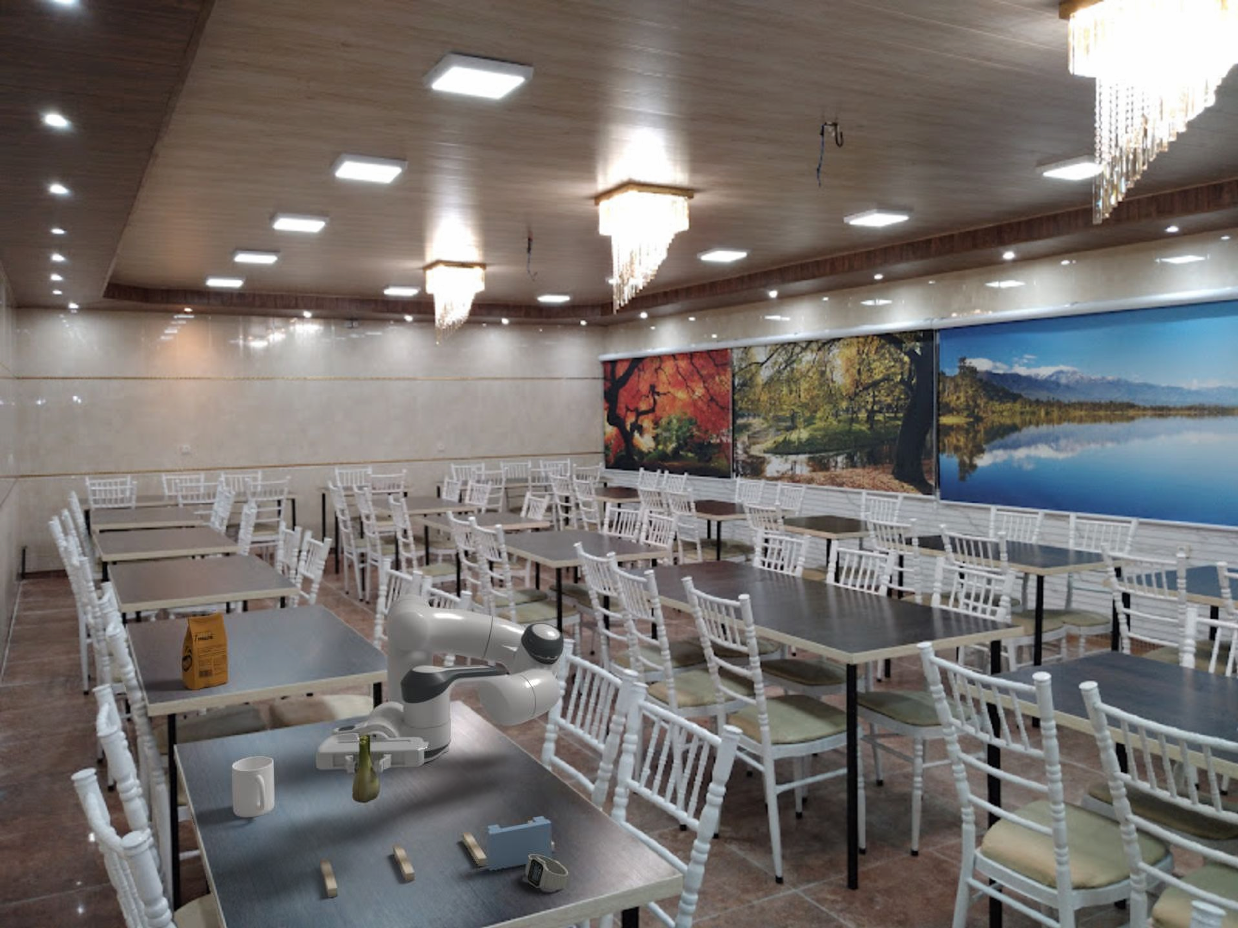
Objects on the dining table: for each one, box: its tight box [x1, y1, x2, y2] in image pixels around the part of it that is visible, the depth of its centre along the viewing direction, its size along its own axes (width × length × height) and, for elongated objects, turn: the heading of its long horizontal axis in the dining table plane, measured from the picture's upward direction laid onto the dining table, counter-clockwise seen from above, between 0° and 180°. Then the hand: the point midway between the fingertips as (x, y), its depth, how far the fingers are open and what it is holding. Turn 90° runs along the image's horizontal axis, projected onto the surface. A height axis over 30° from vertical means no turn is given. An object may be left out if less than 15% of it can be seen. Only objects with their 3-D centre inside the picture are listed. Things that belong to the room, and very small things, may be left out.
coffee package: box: [181, 611, 229, 691], centre depth 296 cm, size 10×12×22 cm
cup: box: [231, 755, 275, 818], centre depth 202 cm, size 8×12×10 cm
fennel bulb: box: [351, 733, 381, 804], centre depth 177 cm, size 6×5×12 cm
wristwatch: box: [524, 854, 569, 891], centre depth 172 cm, size 9×6×5 cm
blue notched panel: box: [486, 815, 553, 872], centre depth 180 cm, size 4×12×7 cm, turn 114°
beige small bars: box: [319, 819, 555, 898], centre depth 180 cm, size 12×42×2 cm, turn 114°
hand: (364, 768), depth 176 cm, fingers closed on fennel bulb, 3 cm apart
